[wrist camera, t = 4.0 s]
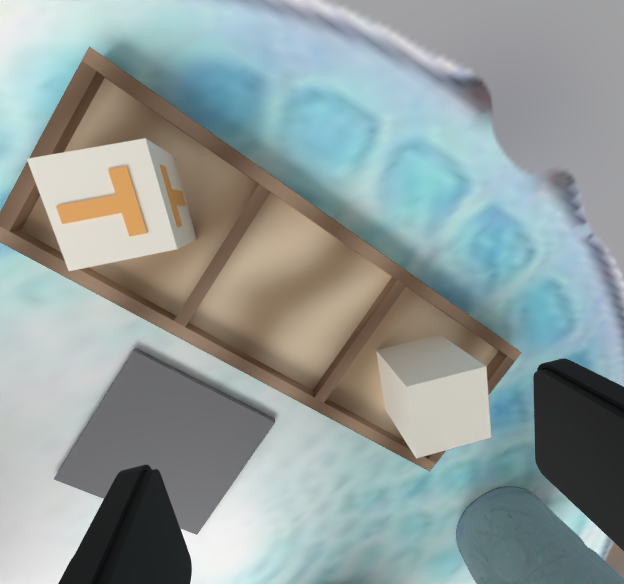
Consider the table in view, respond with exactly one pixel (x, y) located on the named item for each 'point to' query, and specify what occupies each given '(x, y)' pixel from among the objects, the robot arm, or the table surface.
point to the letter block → (113, 202)
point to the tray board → (249, 265)
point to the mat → (167, 438)
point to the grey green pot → (525, 543)
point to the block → (435, 394)
